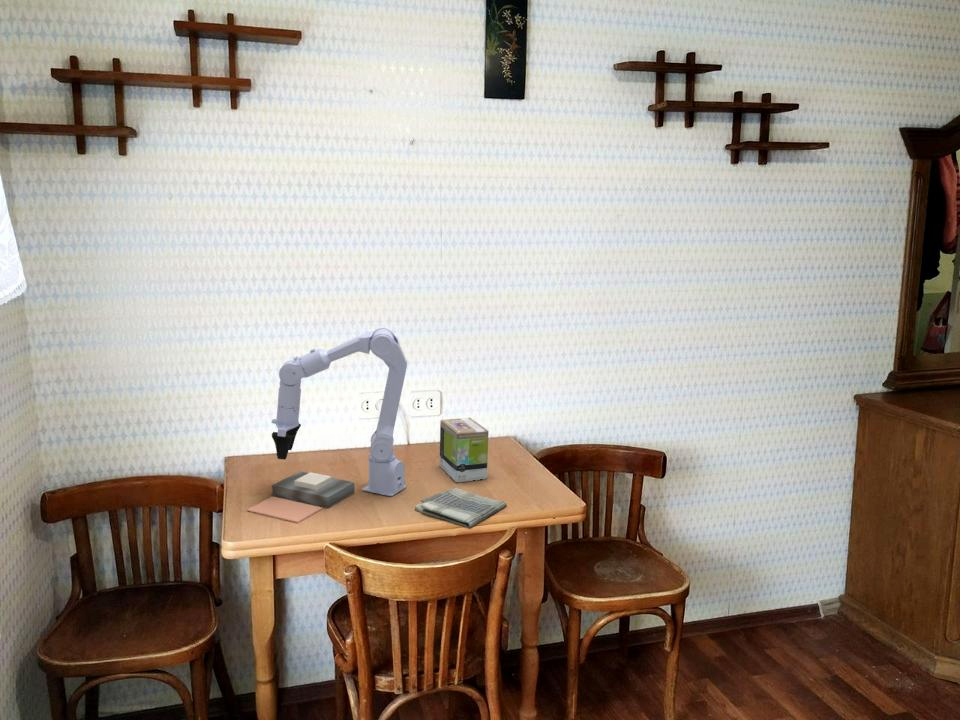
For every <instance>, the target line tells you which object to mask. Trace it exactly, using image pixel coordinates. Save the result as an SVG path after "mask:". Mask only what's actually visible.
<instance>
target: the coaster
mask: <svg viewBox="0 0 960 720" xmlns="http://www.w3.org/2000/svg"><path fill="white" fill-rule="evenodd" d="M307 473H308V474H306V475H304V476H302V477H300V478H298V479H296V480H294V482H295V486H298V487H303V488H307V489H312V490H318V489H320V488H322V487H323V486H325V485H327V484H329V483H331V482H332V478H333V477H332V476H330V475H325V474H321V473H315V472H311V471H310V472H307Z"/></svg>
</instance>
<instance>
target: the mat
mask: <svg viewBox="0 0 960 720" xmlns="http://www.w3.org/2000/svg"><path fill="white" fill-rule="evenodd" d="M321 509H322V510H323V509H324V507H320V506H315V505H311V504H306V503H302V502H297V501H293V500H289V499H284V498H280V497H275V496H271V497H268V498H266V499H265V500H263V501H261V502H259V503H257V504H255V505H252V506H251V507H250V508H247V509H246V512H248V511H251V512H250V513H252V512H256V513H255V514H257V513H259V514H258V515H261V514H264V515H263V516H265V515H268V516H267V517H269V516H272V517H271V518H273V517H275V518H274V519H278V518H279V519H278V520H282V519H284V520H283V521H286V520H288V521H287V522H290V521H292V522H291V523H294V522H295V524H300V523H301V522H303V521H304V520H306V519H308V518H310V517H312V516H313V515H315V514H316V512H317V513H318V512H320V511H322V510H321ZM319 510H320V511H319ZM314 513H315V514H314ZM311 515H312V516H311ZM299 522H300V523H299Z"/></svg>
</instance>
